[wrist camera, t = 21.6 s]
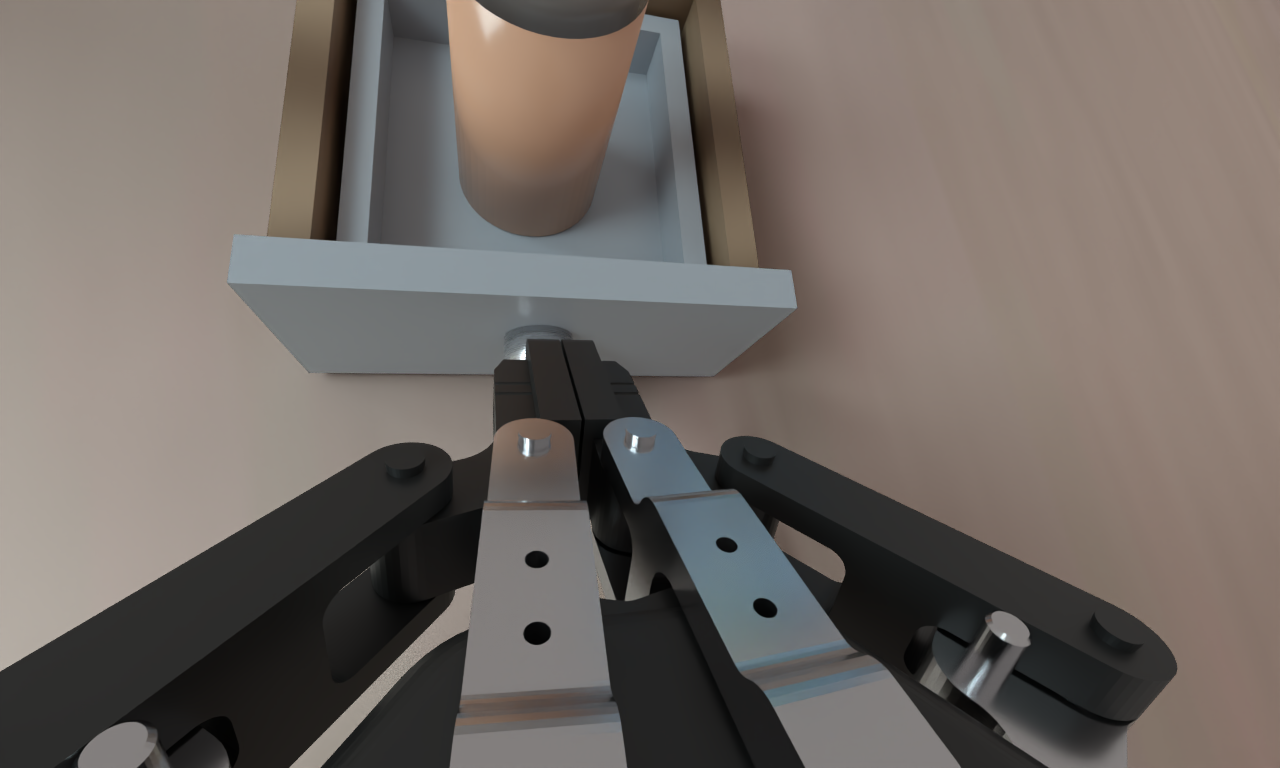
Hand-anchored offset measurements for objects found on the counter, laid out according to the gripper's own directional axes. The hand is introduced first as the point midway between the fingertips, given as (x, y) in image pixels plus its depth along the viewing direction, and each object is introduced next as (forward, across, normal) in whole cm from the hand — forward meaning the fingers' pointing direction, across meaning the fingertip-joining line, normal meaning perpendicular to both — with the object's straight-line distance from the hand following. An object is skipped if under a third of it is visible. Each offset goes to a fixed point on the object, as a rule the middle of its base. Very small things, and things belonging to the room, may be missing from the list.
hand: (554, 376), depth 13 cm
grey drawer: (+11, 0, -1) cm, 11 cm away
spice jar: (+10, 0, -3) cm, 10 cm away
